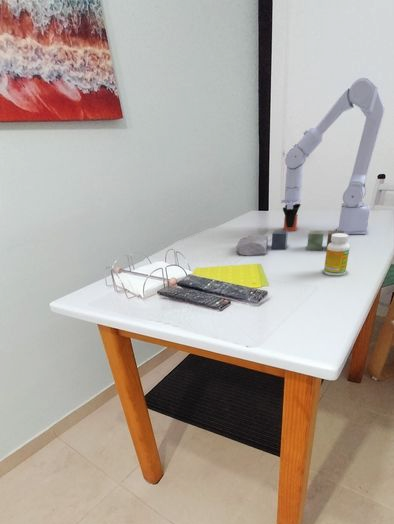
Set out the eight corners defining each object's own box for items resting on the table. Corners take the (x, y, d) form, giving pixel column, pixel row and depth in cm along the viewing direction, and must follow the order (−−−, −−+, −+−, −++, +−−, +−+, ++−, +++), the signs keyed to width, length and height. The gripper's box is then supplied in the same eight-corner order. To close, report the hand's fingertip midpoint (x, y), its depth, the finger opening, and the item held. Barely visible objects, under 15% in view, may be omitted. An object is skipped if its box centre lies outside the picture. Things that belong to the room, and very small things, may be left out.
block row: (341, 246, 108) (343, 230, 105) (341, 250, 104) (343, 234, 101) (273, 245, 115) (274, 230, 112) (271, 249, 111) (272, 233, 108)
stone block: (237, 261, 109) (268, 254, 105) (234, 246, 106) (265, 239, 103) (241, 251, 119) (269, 245, 115) (238, 237, 116) (267, 231, 113)
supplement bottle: (342, 277, 86) (349, 238, 81) (321, 274, 89) (326, 236, 83) (347, 270, 90) (353, 233, 85) (326, 268, 92) (331, 231, 87)
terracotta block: (296, 228, 132) (297, 214, 130) (295, 230, 129) (296, 217, 126) (285, 228, 134) (286, 214, 131) (283, 230, 130) (284, 217, 128)
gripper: (284, 184, 130) (282, 221, 138) (279, 190, 119) (277, 230, 126) (303, 184, 128) (300, 221, 135) (299, 189, 117) (296, 230, 124)
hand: (290, 225), depth 131 cm, fingers closed on terracotta block, 4 cm apart
